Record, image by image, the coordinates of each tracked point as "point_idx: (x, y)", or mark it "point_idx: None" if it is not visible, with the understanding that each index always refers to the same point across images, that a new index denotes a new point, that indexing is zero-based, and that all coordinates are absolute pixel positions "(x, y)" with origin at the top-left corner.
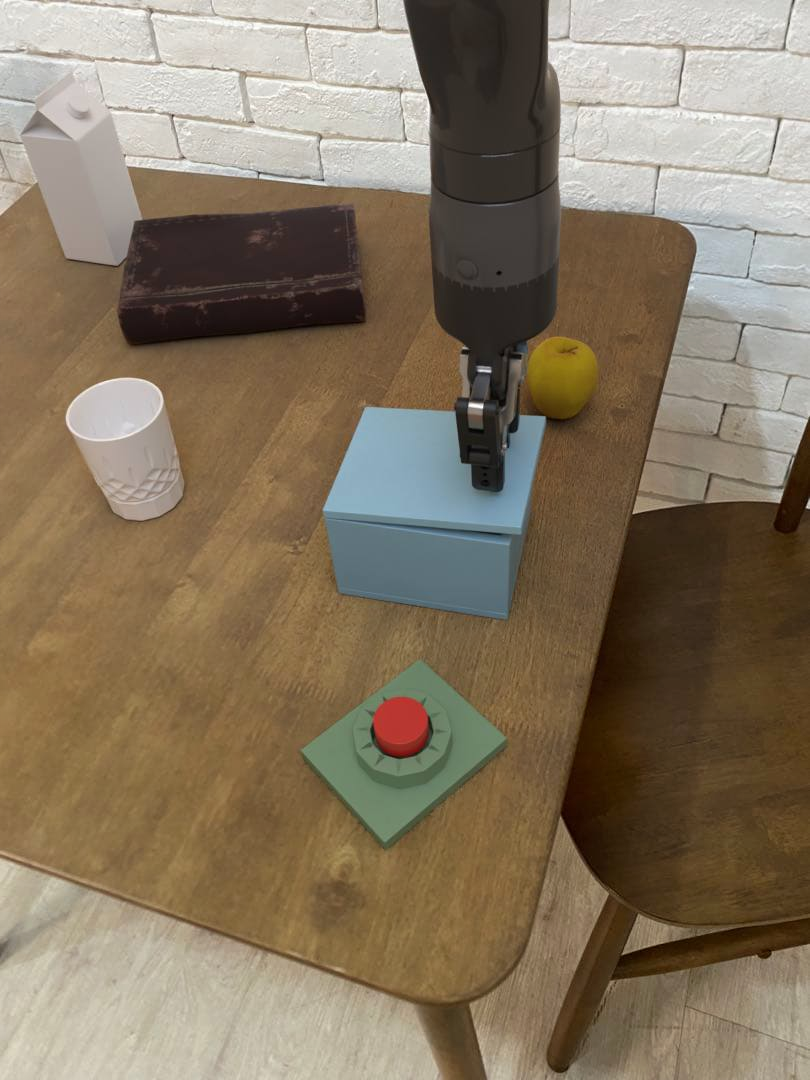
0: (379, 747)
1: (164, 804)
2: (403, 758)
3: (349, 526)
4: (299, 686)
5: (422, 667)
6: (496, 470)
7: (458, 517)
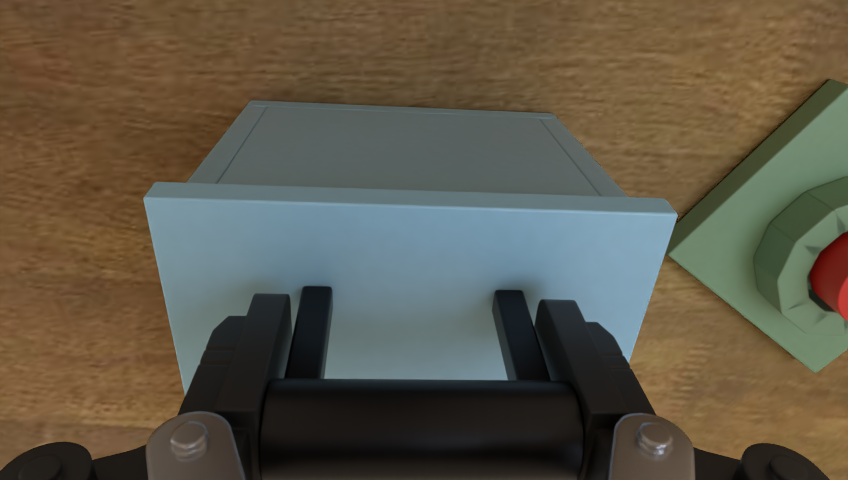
0: None
1: (836, 472)
2: None
3: None
4: (681, 388)
5: (688, 248)
6: (612, 375)
7: None
